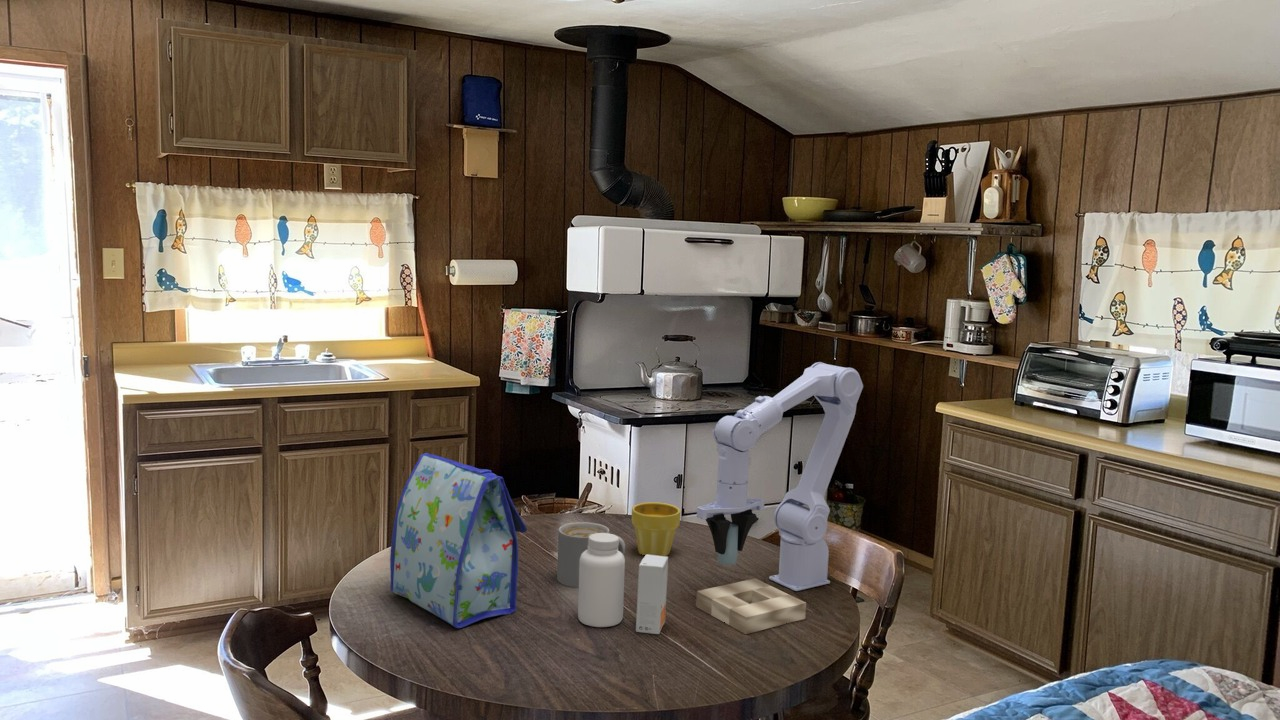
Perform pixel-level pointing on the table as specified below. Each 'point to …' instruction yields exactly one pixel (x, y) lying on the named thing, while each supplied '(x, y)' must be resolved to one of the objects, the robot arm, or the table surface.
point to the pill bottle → (601, 582)
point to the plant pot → (655, 527)
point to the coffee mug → (576, 549)
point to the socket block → (750, 605)
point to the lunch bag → (456, 542)
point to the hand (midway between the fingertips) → (728, 551)
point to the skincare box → (651, 594)
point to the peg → (730, 547)
